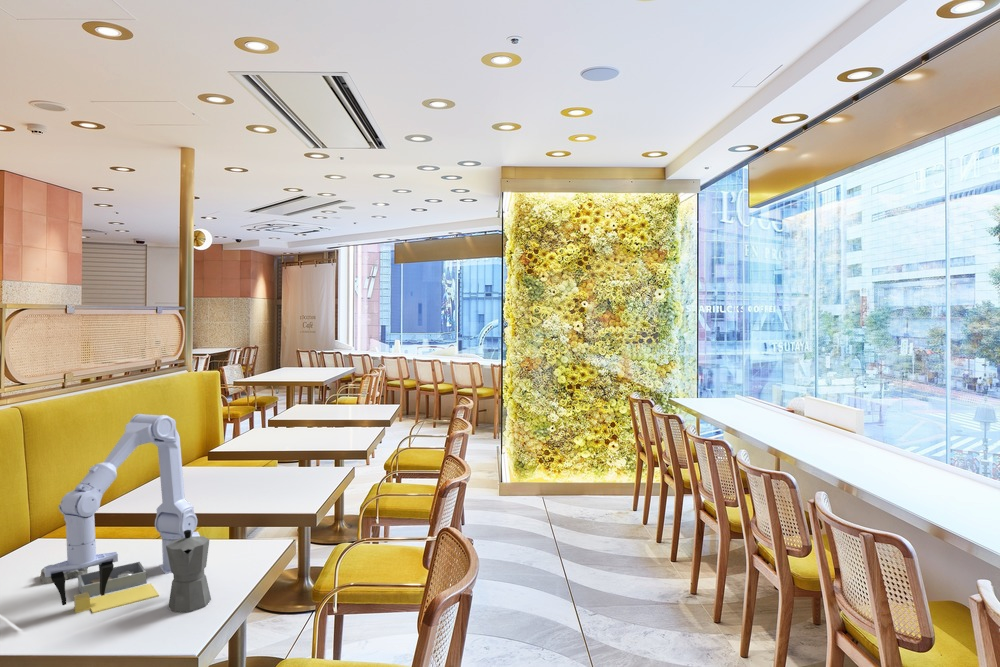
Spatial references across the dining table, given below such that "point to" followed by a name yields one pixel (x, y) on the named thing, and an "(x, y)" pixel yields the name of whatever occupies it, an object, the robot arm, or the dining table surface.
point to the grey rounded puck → (125, 573)
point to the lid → (113, 599)
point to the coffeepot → (188, 573)
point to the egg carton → (66, 575)
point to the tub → (113, 579)
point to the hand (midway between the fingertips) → (83, 598)
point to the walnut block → (97, 580)
